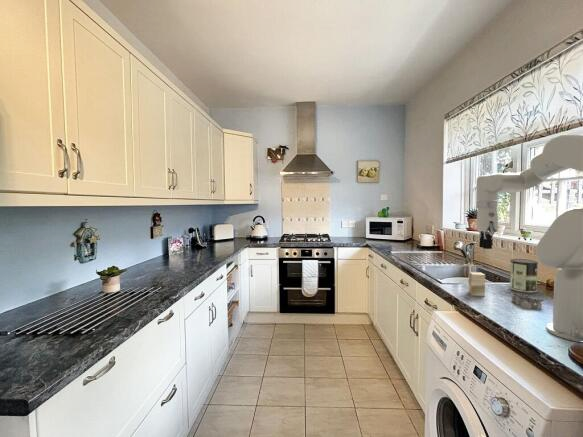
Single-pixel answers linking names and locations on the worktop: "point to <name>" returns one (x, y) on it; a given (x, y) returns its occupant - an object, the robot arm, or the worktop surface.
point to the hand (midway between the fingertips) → (485, 247)
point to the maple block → (476, 284)
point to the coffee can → (523, 275)
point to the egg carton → (523, 301)
